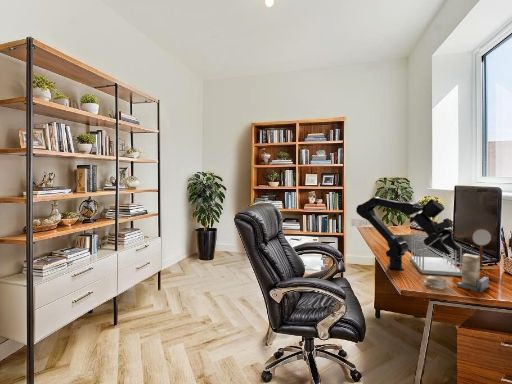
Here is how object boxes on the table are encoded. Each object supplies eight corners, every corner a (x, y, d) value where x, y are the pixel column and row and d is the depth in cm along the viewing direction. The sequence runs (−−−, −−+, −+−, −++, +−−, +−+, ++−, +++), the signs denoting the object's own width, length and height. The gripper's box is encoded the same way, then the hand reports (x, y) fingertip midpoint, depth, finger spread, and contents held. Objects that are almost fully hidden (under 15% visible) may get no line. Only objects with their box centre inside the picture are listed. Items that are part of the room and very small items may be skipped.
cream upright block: (461, 285, 126) (462, 255, 125) (465, 283, 128) (465, 253, 128) (475, 289, 122) (476, 257, 121) (479, 286, 124) (479, 255, 124)
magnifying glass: (471, 268, 147) (472, 228, 146) (469, 267, 149) (470, 227, 147) (491, 269, 145) (492, 228, 144) (489, 268, 146) (491, 228, 145)
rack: (456, 286, 125) (457, 277, 125) (464, 281, 131) (464, 272, 130) (481, 292, 118) (481, 282, 118) (488, 286, 124) (488, 277, 124)
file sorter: (463, 276, 137) (464, 243, 136) (421, 274, 141) (421, 241, 140) (445, 261, 161) (445, 232, 160) (409, 259, 165) (409, 231, 164)
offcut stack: (423, 285, 128) (424, 277, 127) (428, 282, 131) (428, 274, 131) (442, 290, 122) (442, 281, 122) (446, 287, 125) (446, 278, 125)
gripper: (431, 215, 127) (461, 245, 119) (448, 210, 138) (477, 237, 130) (412, 231, 134) (439, 260, 125) (430, 225, 145) (456, 252, 137)
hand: (454, 252), depth 129 cm, fingers open, 9 cm apart
